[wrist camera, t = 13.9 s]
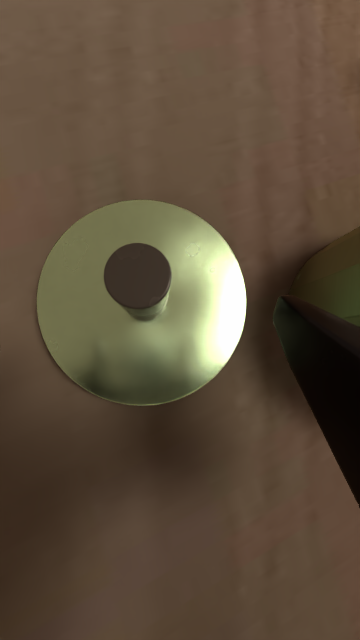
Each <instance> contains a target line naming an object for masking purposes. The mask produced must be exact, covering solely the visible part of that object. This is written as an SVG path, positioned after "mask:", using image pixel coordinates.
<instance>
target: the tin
mask: <svg viewBox="0 0 360 640" xmlns="http://www.w3.org/2000/svg"><path fill="white" fill-rule="evenodd" d="M289 295H294V296H296V297H298V298H300V299H302V300H304V301H307V302H309V303H311V304H313V305H315V306H317V307H319V308H321V309H323V310H325V311H327V312H329V313H332V314H334V315H336V316H338V317H340V318H342V319H344V320H346V321H348V322H350V323H352V324H354V325H357V326H359V327H360V226H359V227H358V228H356V229H354V230H352V231H351V232H349V233H347V234H345V235H344V236H342V237H340V238H338V239H337V240H335V241H333V242H332V243H330V244H329V245H328V246H326V247H325V248H324V249H322V250H321V251H319V252H318V253H316V254H315V255H314V256H313V257H311V258H310V259H309V260H308V261H307V262H306V263H305V265H304V266H303V267H302V268H301V270H300V271H299V273H298V274H297V276H296V278H295V280H294V282H293V284H292V286H291V289H290V292H289Z"/></svg>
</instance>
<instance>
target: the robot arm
mask: <svg viewBox="0 0 360 640" xmlns="http://www.w3.org/2000/svg"><path fill="white" fill-rule="evenodd" d="M273 322H274V325H275V328H276V331H277V334H278V337H279V339H280V342H281V345H282V348H283V351H284V353H285V356H286V359H287V361H288V363H289V365H290V368H291V370H292V372H293V374H294V376H295V378H296V380H297V382H298V384H299V386H300V388H301V390H302V392H303V394H304V396H305V398H306V400H307V402H308V404H309V406H310V408H311V410H312V412H313V414H314V416H315V418H316V420H317V422H318V424H319V426H320V428H321V430H322V432H323V434H324V436H325V438H326V440H327V442H328V444H329V446H330V448H331V450H332V452H333V455H334V457H335V459H336V461H337V463H338V465H339V467H340V469H341V471H342V473H343V475H344V477H345V479H346V481H347V483H348V485H349V487H350V489H351V491H352V493H353V495H354V497H355V499H356V501H357V503H358V504H359V508H360V327H359V326H357V325H354V324H352V323H350V322H348V321H346V320H344V319H342V318H340V317H338V316H336V315H334V314H332V313H329V312H327V311H325V310H323V309H321V308H319V307H317V306H315V305H313V304H311V303H309V302H307V301H304V300H302V299H300V298H298V297H296V296H294V295H283V296H280V297H279V298H278V300H277V303H276V307H275V310H274V314H273Z"/></svg>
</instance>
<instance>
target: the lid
mask: <svg viewBox="0 0 360 640" xmlns="http://www.w3.org/2000/svg"><path fill="white" fill-rule="evenodd" d="M246 306H247V300H246V288H245V283H244V278H243V275H242V272H241V269H240V266H239V263H238V261H237V259H236V257H235V255H234V253H233V251H232V250H231V248H230V247H229V245H228V244H227V242H226V241H225V240H224V239H223V237H222V236H221V235H220V234H219V233H218V232H217V231H216V230H215V229H214V228H213V227H212V226H211V225H210V224H209V223H207V222H206V221H205V220H203V219H202V218H200V217H199V216H197V215H196V214H194V213H192V212H190V211H188V210H186V209H184V208H181V207H179V206H176V205H173V204H169V203H166V202H162V201H154V200H129V201H121V202H117V203H113V204H109V205H107V206H104V207H102V208H99V209H97V210H95V211H93V212H91V213H89V214H87V215H85V216H84V217H83V218H81V219H80V220H78V221H77V222H76V223H74V224H73V225H72V226H71V227H70V228H69V229H68V230H67V231H66V232H65V233H64V234H63V235H62V236H61V237H60V239H59V240H58V241H57V242H56V244H55V245H54V247H53V248H52V250H51V252H50V253H49V255H48V257H47V259H46V262H45V264H44V266H43V269H42V272H41V276H40V279H39V284H38V291H37V314H38V321H39V326H40V329H41V333H42V337H43V339H44V341H45V343H46V346H47V348H48V350H49V352H50V353H51V355H52V357H53V358H54V360H55V362H56V363H57V364H58V365H59V367H60V368H61V369H62V370H63V371H64V373H65V374H67V375H68V376H69V377H70V378H71V379H72V380H73V381H74V382H75V383H77V384H78V385H79V386H81V387H82V388H84V389H85V390H87V391H88V392H90V393H92V394H94V395H96V396H98V397H100V398H103V399H106V400H109V401H112V402H116V403H120V404H125V405H136V406H148V405H158V404H163V403H168V402H172V401H175V400H178V399H181V398H183V397H185V396H187V395H189V394H191V393H193V392H195V391H197V390H198V389H200V388H201V387H203V386H204V385H206V384H207V383H208V382H209V381H211V380H212V379H213V378H214V377H215V376H216V375H217V374H218V373H219V372H220V371H221V370H222V368H223V367H224V366H225V365H226V364H227V362H228V361H229V359H230V358H231V356H232V355H233V353H234V351H235V349H236V347H237V345H238V343H239V340H240V337H241V334H242V331H243V328H244V323H245V318H246Z"/></svg>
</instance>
